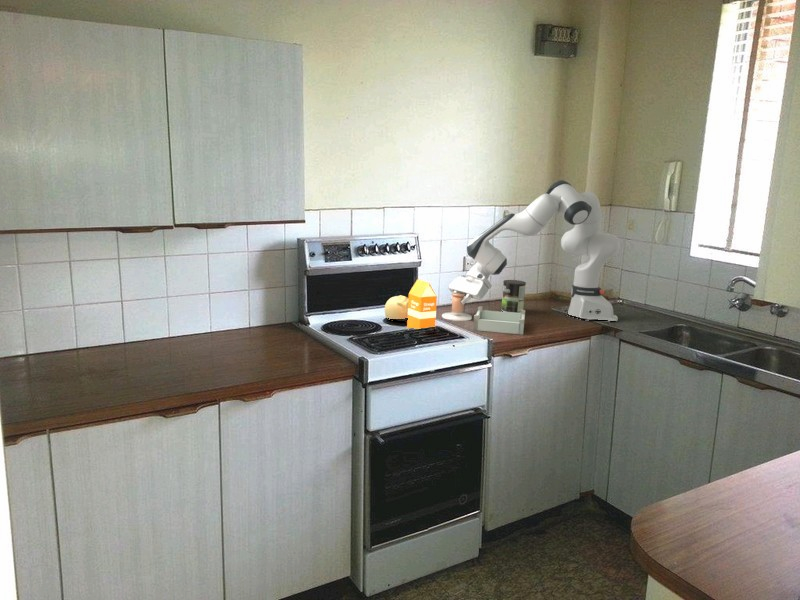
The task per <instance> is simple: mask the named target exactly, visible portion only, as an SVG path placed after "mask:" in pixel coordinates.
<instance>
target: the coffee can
mask: <svg viewBox="0 0 800 600" xmlns="http://www.w3.org/2000/svg"><path fill="white" fill-rule="evenodd" d="M526 284H527V282H526V281H524V280H519V279H505V280H503V286H502V297H501V298H502V299H501V309H500V311H501V310H502V311H503V312H512V313H521V310H524V304H525V293H526ZM502 311H501V312H502Z"/></svg>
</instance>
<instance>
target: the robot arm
mask: <svg viewBox="0 0 800 600" xmlns="http://www.w3.org/2000/svg"><path fill="white" fill-rule="evenodd" d="M601 208H602V206H601V203H600V200H599V198H598V196H597V195H596V194H595V193H593V192H591V191H584V192H581V193H579V192H578V191H577V190H576V188H574V187H573V186H572V185H571V183H569V182H568V181H566V180H564V179H562V180H558V181H555V182H553V183H552V184H551V185H550V186H549V187H548V189H547V191H546V192H545V193H543V194H541V195H539V196H538V197H537V198H536V199H534V200H533V201H532V202H531V203H530V204H529V205H527V206H526V208H524V210H522V211H520V212H517V213H513V212H511V213H509V214H506V215H505V216H504V217H502V218H501V219H500V220H498V221H496V223H494V224H492V226H490V227H489V228H487V229H486V230H485V231H483V232H482V233H480V234H479V235H478V236H476V237H474V238H472V239H471V240H470V241H469V243H467V245H466V252H467V256H469V257H470V258H471V259H473V260H475V261H476V263H475V264H473V266H471V268H470V269H469V270H468V271H467V273H466V274H465V275H464V274H461V275H459V276H457V277H455V278H454V279H453V280H452V281H451V282H450V283H449V284H448V288H447V289H448V290H449V291H450V292H451V294H452V293H453V292H460V293H465V296H464V299H461V300H460V303H461V304H463V305H465V304H466V302H469V301H470V300H471V299H474V300H478V301H480V300H482V299H483V298H484V297H485V296H486V294H487V293H488V291H489V289H491V288H492V286H493V285H492V284H491V282H490V280H489V277H490V276H491V275H492V276H495V275H500V274H501V273H502V272H503V270H504V268H505V267H507V265H508V261H507V257H506V256H505V255H504V254H503V253H502V251H501V250H500V249H499V248H497V247H495V246H494V245H493V244H492V243H491V242H490V240H492V239H493V238H494V237H495V236H497V235H499V234H500V233H502V232H503V231H511V232H514V233H517V234H520V235H521V236H522V235H523V236H528V237H529V236H531V237H532V236H535V235H537V234H539V233H540V232H541V231H542V230H543V229H545V227H546V226H547V225H548V224H549V223H550V222H551V221H552V220H553V218H554V217H555V216H557V215H559V214H560V216H562V217H563V218H564V220H565V221H566V222H567V223H569V224H570V225H573V226H574V227H573V228H572V229H570V230H567V231H566V232H565V233H563V235H562V237H561V240H560V246H561V249H562V250H563V251H564V252H565V253H568V254H572V255H577V256H586V257H587V256H588V257H589V260H588V261H587V262H584V263H580V264H578V265H577V266H576V267H575V270H574V276H573V277H574V278H573V283H572V286H571V293H570V296H571V299H570V303H569V307H568V310H567V312H568V314H569V315H572V316H576V317H580V318H587V319H598V320H608V321H607V322H610V321H616V322H618V320H619V319H618V316H617V315H616V314H614V308H613V305H612V303H611V302H610V301H608V299H606V298H605V297H604V296H603V295H604V294H605V290H604V289H602V287H599V283H600V276H601V272H602V269H603V267H604V265H605V264H606V263H608V261H609V260H611V259H612V258H613V257H614V258H615V256H616V255H617V254H618V253H619V251H620V248H621V242H620V239H619V237H618V236H617V235H615V234H612V233H608V232H601V231H600V230H601V228H602V226H603V224H602V223H603V222H602V220H603V219H602V209H601ZM450 300H451V301H452V296H451V297H450Z"/></svg>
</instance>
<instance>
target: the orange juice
mask: <svg viewBox="0 0 800 600" xmlns="http://www.w3.org/2000/svg"><path fill="white" fill-rule="evenodd" d="M408 298H409V301H408V320H407V321H406V324H407V325H406V329H407V328H414V329H421V328H428V327H435V328H436V318H437V301H438V296H437V294H436V292H435V290H434V289H433V287H432V285H431V283H430V282H428V281H425V280H421V279H416V281H415V282H414V284H413V286H412V287H411V289H410V291H409V293H408Z"/></svg>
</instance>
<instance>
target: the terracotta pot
mask: <svg viewBox="0 0 800 600" xmlns="http://www.w3.org/2000/svg"><path fill="white" fill-rule="evenodd" d="M451 297H452V300H451V312H455V313H464V304H461V303H460V300H461V299H464V298H465V297H466V296H465V293H460V292H453V293H452V292H451Z"/></svg>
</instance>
